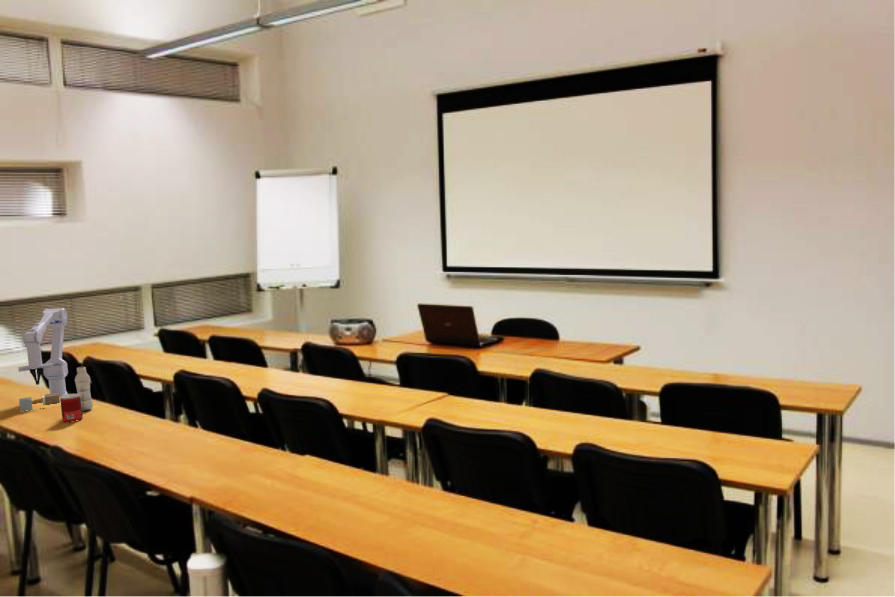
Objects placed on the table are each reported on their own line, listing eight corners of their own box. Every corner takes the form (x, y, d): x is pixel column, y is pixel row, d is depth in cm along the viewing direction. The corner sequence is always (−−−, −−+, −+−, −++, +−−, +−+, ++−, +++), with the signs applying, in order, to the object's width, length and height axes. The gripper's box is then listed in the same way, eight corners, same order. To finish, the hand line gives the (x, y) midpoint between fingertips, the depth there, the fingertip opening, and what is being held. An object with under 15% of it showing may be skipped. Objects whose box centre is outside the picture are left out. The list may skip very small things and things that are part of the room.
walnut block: (42, 395, 367) (58, 392, 371) (43, 403, 368) (59, 400, 371) (42, 397, 362) (58, 395, 365) (43, 405, 363) (59, 403, 366)
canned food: (86, 418, 335) (83, 394, 334) (69, 423, 328) (66, 398, 327) (76, 417, 339) (73, 392, 338) (59, 421, 332) (56, 397, 331)
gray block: (20, 409, 358) (19, 398, 357) (32, 407, 360) (31, 397, 359) (20, 411, 353) (19, 400, 353) (32, 409, 356) (31, 399, 355)
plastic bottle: (74, 412, 348) (69, 369, 346) (85, 408, 355) (80, 366, 352) (85, 412, 346) (81, 369, 344) (96, 408, 353) (92, 366, 350)
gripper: (17, 359, 356) (20, 388, 358) (51, 355, 363) (55, 383, 365) (17, 357, 362) (20, 385, 364) (51, 353, 369) (54, 380, 371)
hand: (37, 384), depth 365 cm, fingers closed
